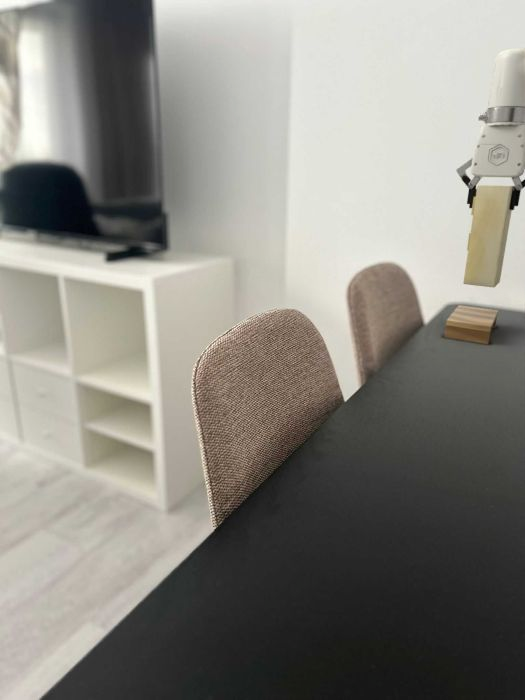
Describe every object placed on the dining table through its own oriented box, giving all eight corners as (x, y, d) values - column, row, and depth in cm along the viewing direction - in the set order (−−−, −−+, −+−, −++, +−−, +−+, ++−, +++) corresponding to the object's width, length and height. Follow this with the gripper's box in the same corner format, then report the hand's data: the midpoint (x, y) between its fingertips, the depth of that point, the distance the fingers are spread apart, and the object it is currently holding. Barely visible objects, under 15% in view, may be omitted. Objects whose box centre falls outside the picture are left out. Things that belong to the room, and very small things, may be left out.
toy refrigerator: (466, 278, 120) (480, 184, 113) (499, 282, 117) (516, 185, 110) (458, 284, 114) (473, 184, 107) (494, 288, 110) (512, 186, 103)
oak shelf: (456, 320, 127) (458, 305, 125) (495, 326, 122) (498, 310, 121) (444, 337, 113) (446, 320, 112) (487, 344, 109) (491, 326, 108)
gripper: (457, 118, 105) (446, 207, 111) (553, 115, 97) (535, 212, 103) (463, 121, 111) (452, 206, 117) (554, 119, 103) (537, 210, 109)
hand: (491, 208), depth 110 cm, fingers closed on toy refrigerator, 7 cm apart
